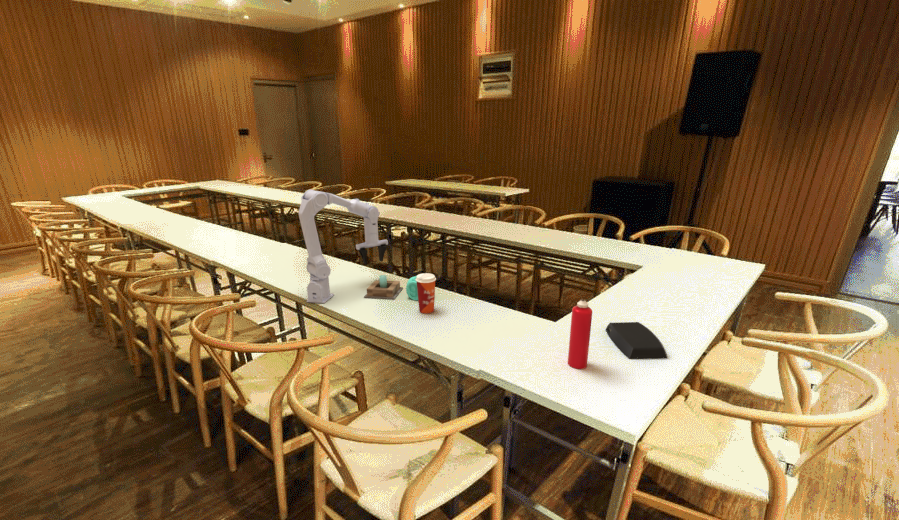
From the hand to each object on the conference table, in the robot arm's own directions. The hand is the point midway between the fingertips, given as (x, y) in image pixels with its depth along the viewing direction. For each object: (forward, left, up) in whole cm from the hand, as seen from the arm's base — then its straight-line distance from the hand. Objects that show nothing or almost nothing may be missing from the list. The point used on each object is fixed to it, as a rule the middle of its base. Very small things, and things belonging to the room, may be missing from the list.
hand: (373, 262), depth 186 cm
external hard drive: (-41, -102, -11) cm, 110 cm away
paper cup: (-26, -30, -10) cm, 41 cm away
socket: (-11, -8, -10) cm, 17 cm away
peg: (-11, -8, -9) cm, 16 cm away
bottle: (-57, -82, -10) cm, 100 cm away
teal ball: (-13, -24, -10) cm, 29 cm away
